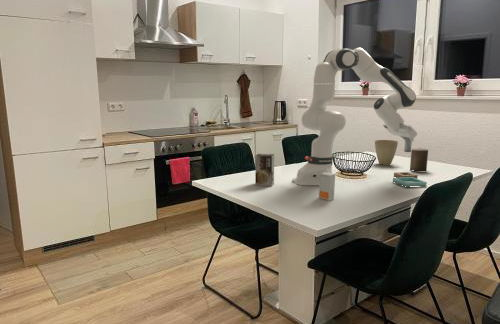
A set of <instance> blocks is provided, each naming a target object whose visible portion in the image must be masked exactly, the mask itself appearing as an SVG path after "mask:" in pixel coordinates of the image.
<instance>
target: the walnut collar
mask: <svg viewBox="0 0 500 324" xmlns="http://www.w3.org/2000/svg"><path fill="white" fill-rule="evenodd" d="M394 177H396V178H404V177H413V178H416V179H418V177H419V176H418V174H415V173H412V172H409V171H403V172H402V171H400V172H399V171H398V172H396V171H395V172H393V178H394Z"/></svg>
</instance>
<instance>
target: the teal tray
mask: <svg viewBox="0 0 500 324" xmlns="http://www.w3.org/2000/svg"><path fill="white" fill-rule="evenodd" d="M393 182H395V183H398V184H400V185H403V186H406V187H410V186H426V187H427V181H424V180H422V179H419V178H417V179H416V178H413V177H404V178H394V177H392V183H393ZM395 183H394V184H395ZM398 184H397V185H398ZM400 185H399V186H400ZM403 186H402V187H403Z"/></svg>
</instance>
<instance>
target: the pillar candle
mask: <svg viewBox="0 0 500 324" xmlns="http://www.w3.org/2000/svg"><path fill="white" fill-rule="evenodd" d="M428 156H429V149H427V148H421V147H419V148H417V147H416V148H411V152H410V164H409V165H410V166H409V170H414V171H426V172H427V168H428V158H429V157H428ZM414 171H413V172H414Z"/></svg>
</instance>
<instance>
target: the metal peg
mask: <svg viewBox="0 0 500 324" xmlns="http://www.w3.org/2000/svg"><path fill="white" fill-rule="evenodd" d="M412 145H413V144H412V142H410V141H409V138H407V137H405V140H404V148H403V149H404V150H403V151H404V152H405V153H411V151H412Z"/></svg>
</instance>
